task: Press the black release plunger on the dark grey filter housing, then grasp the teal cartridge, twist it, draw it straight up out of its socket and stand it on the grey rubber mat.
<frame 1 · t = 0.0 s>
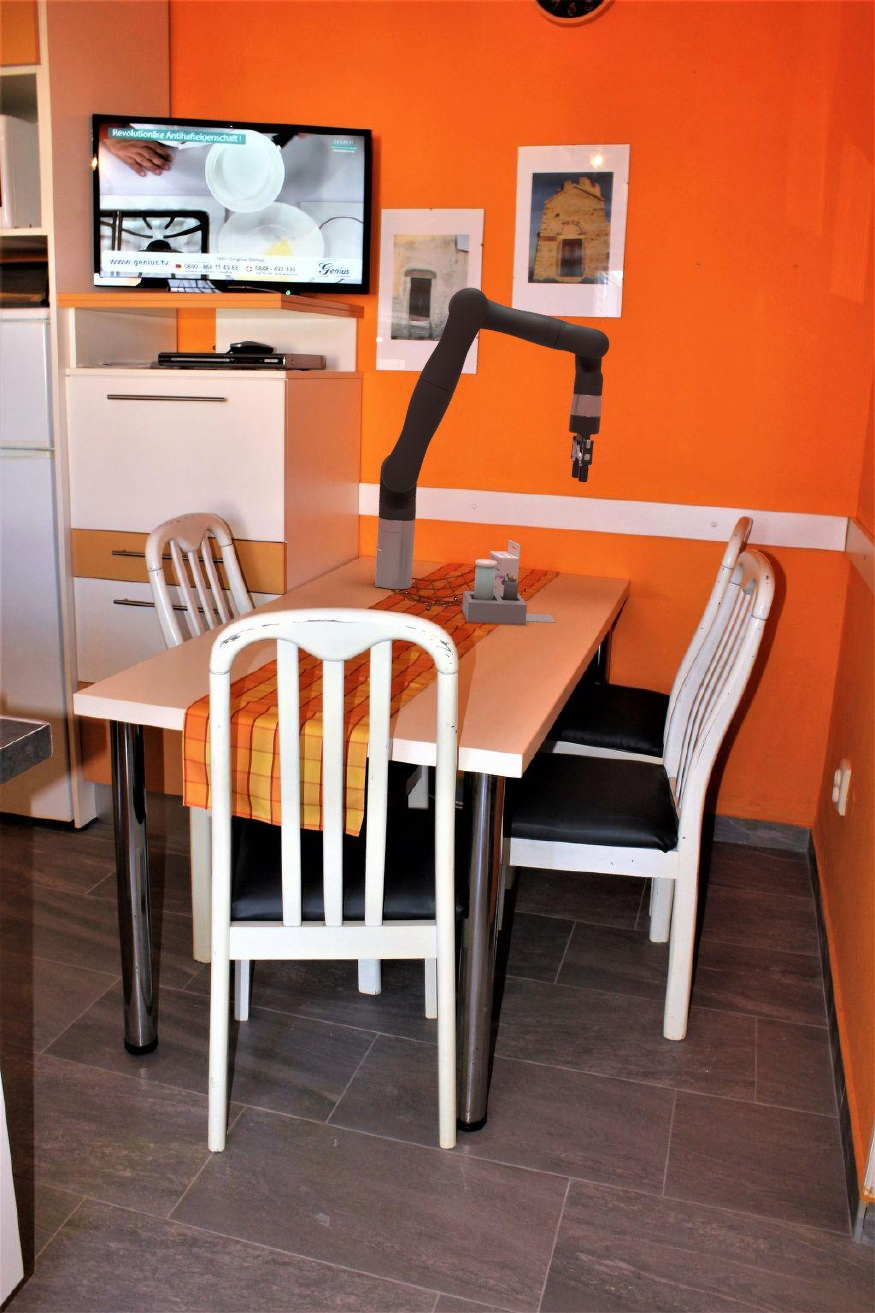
hand: (579, 479, 280), 29 cm above the table, fingers open, 8 cm apart
plunger: (510, 595, 253), point 6 cm above the table, slide at 0.0 cm
ink box: (500, 602, 274), on the table
housing: (493, 619, 254), on the table
mat: (537, 620, 256), on the table
cartridge: (481, 616, 254), resting on housing
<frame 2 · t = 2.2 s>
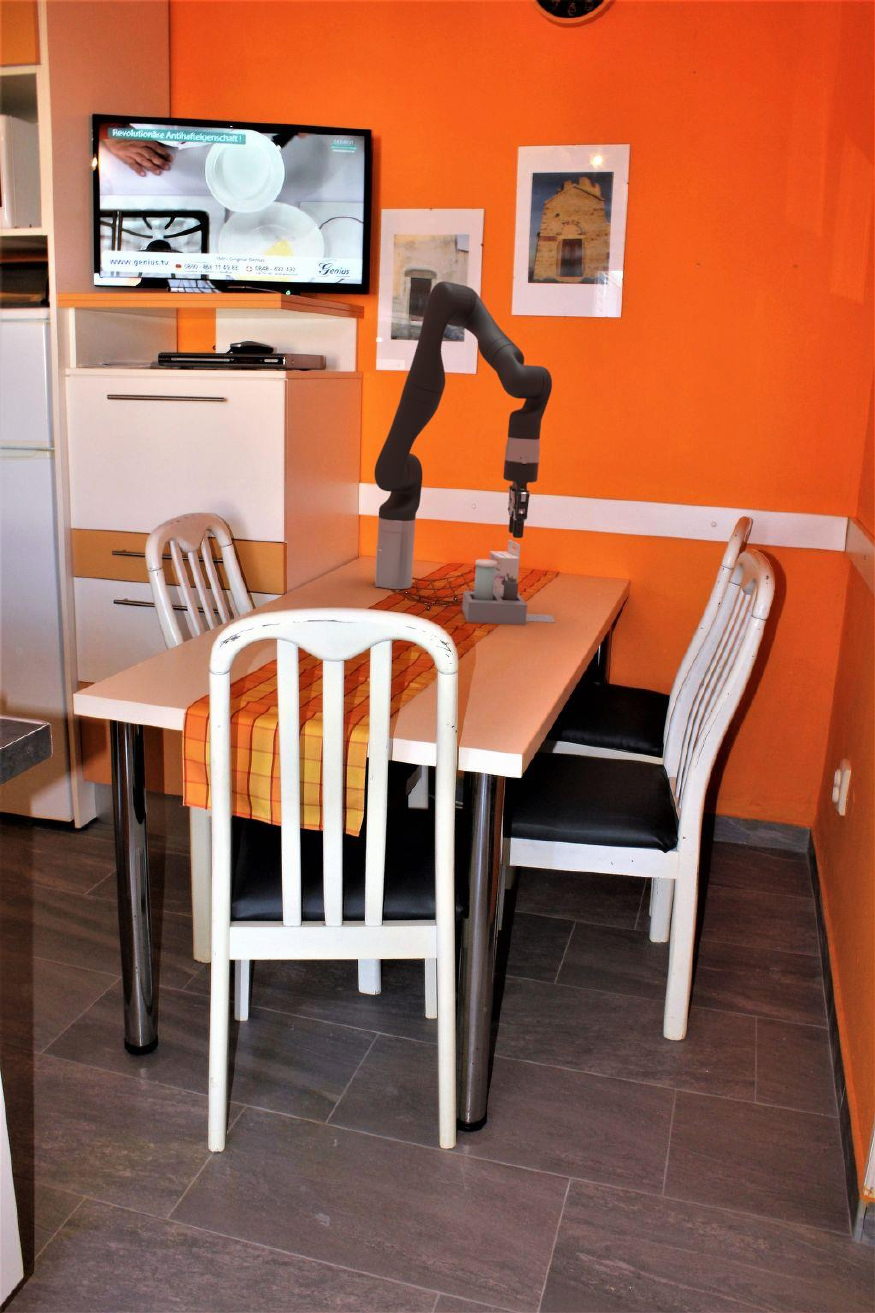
hand: (515, 534, 249), 20 cm above the table, fingers open, 5 cm apart
nothing on the table moved.
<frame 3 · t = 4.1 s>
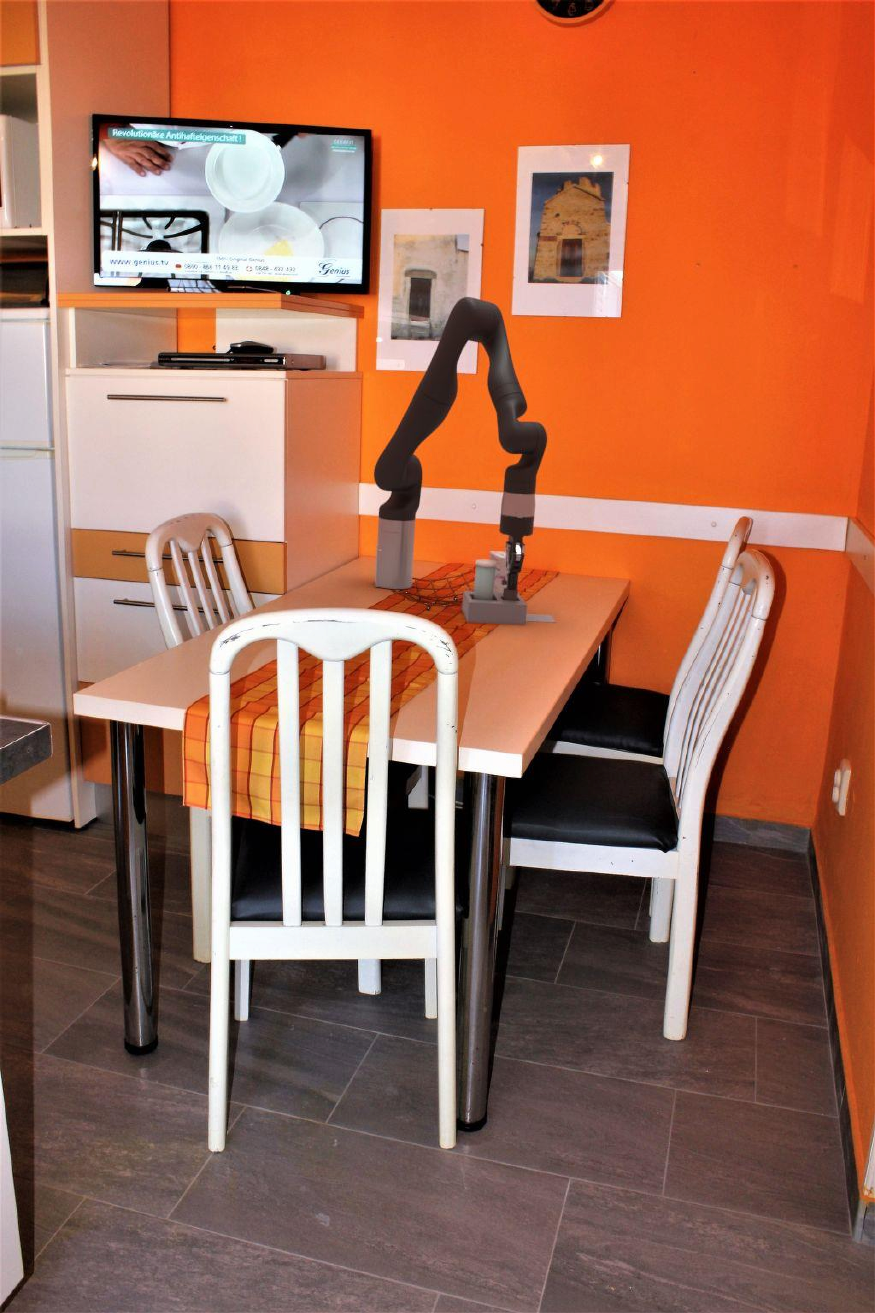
hand: (511, 589, 253), 7 cm above the table, fingers closed
plunger: (509, 601, 253), point 4 cm above the table, slide at 1.4 cm, touching gripper
everything else where it was.
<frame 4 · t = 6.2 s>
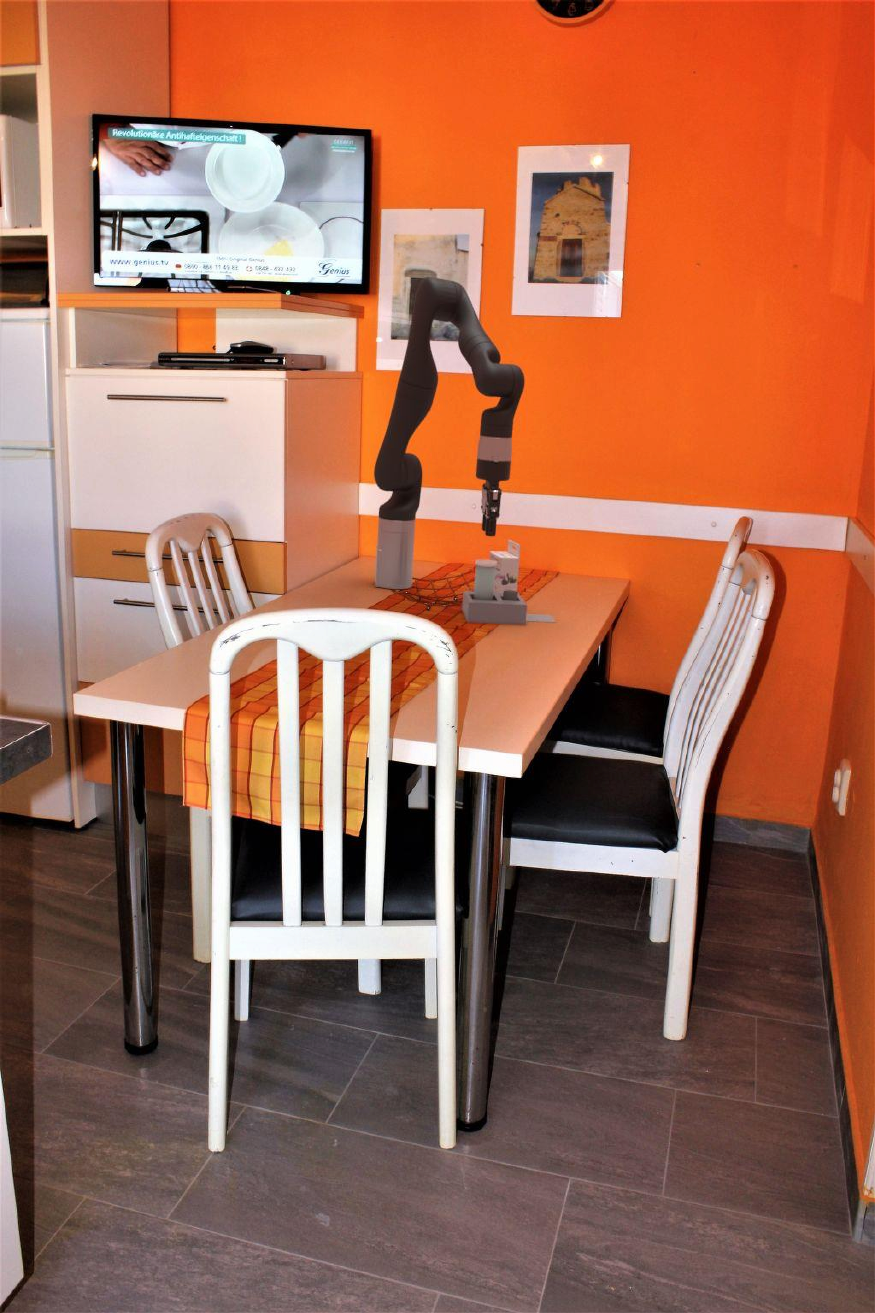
hand: (488, 533, 249), 20 cm above the table, fingers open, 6 cm apart
plunger: (509, 603, 253), point 4 cm above the table, slide at 1.9 cm
everything else where it was.
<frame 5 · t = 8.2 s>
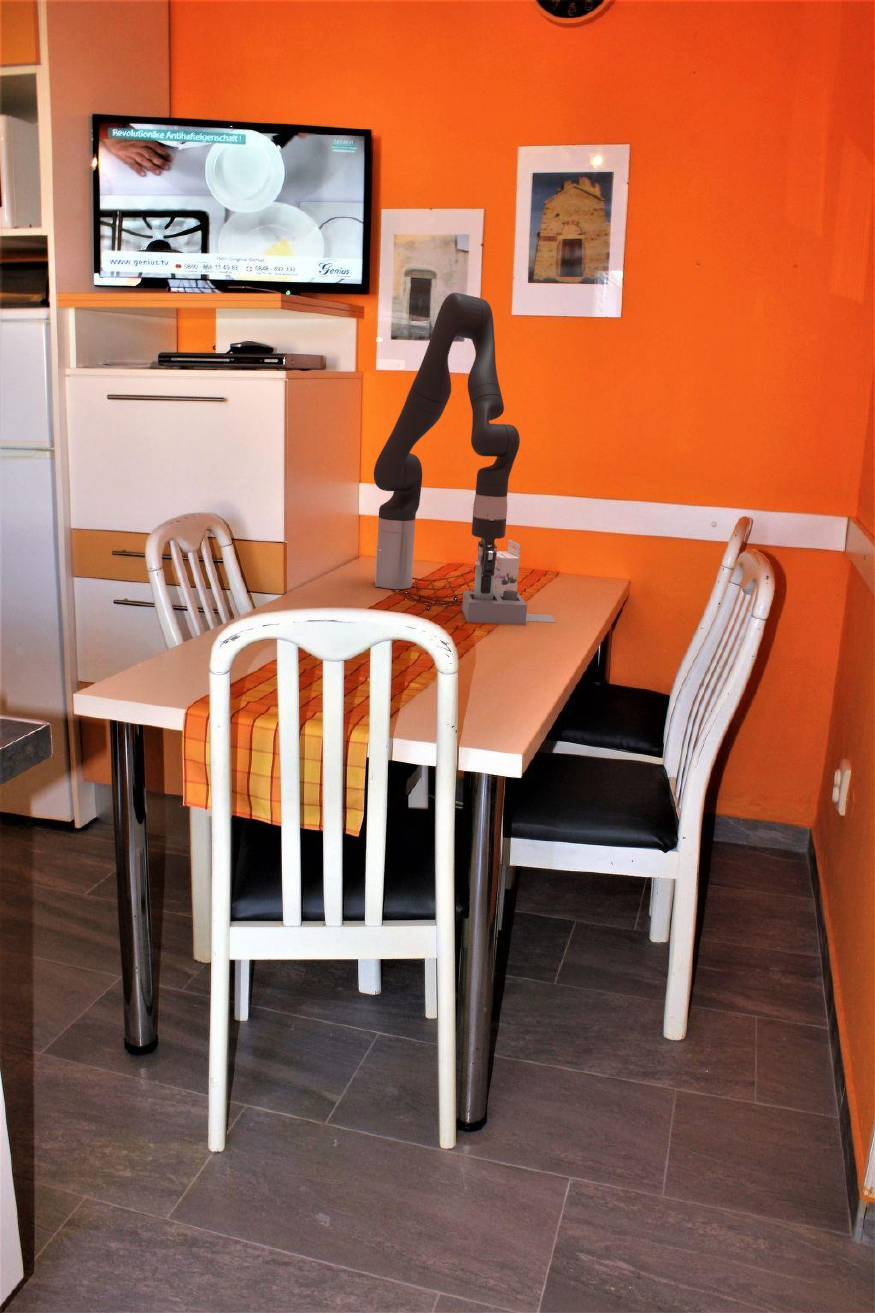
hand: (483, 590, 252), 7 cm above the table, fingers closed on cartridge, 4 cm apart
cartridge: (481, 616, 254), point 1 cm above the table, touching gripper, housing
everything else where it was.
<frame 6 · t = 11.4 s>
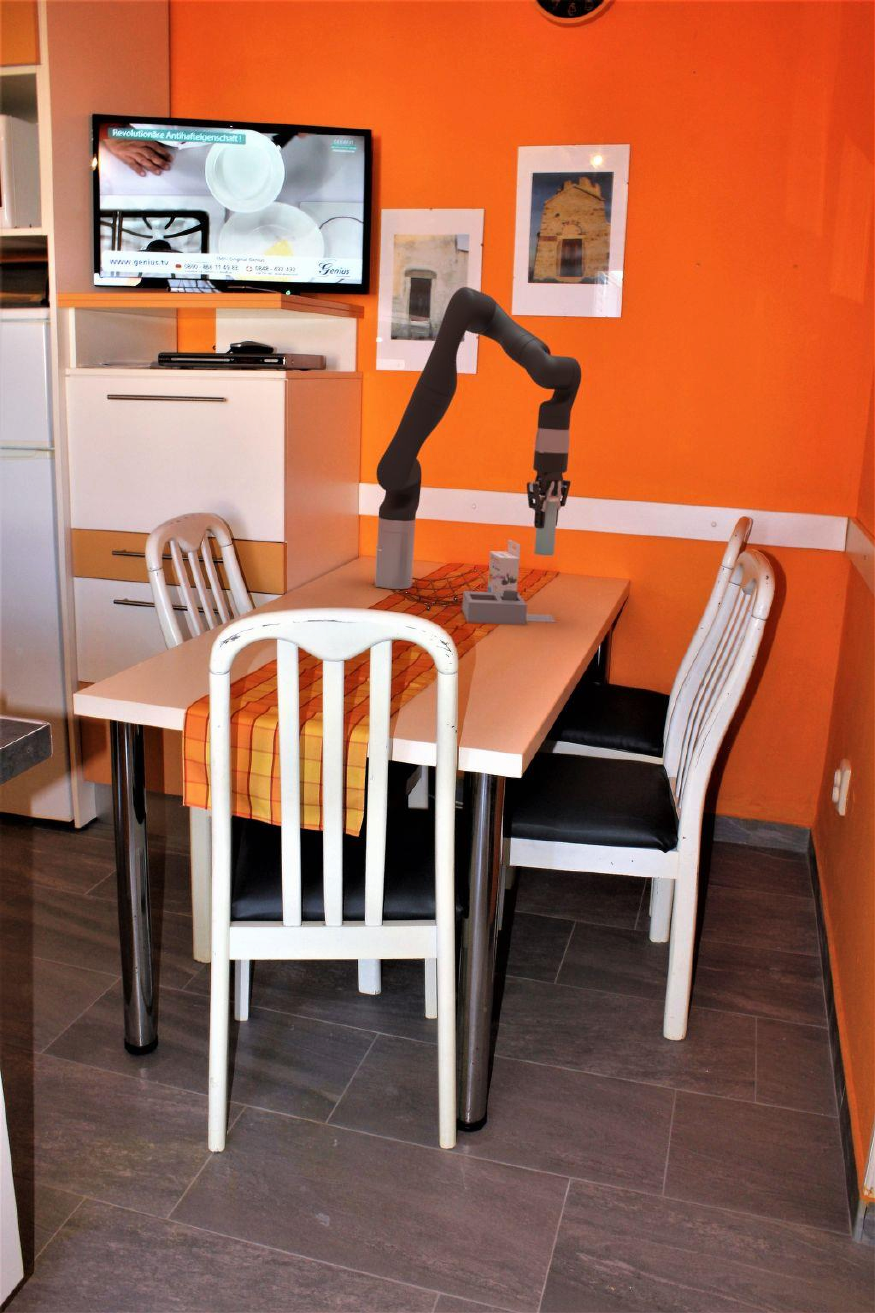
hand: (545, 526, 250), 22 cm above the table, fingers closed on cartridge, 4 cm apart
cartridge: (544, 553, 252), point 16 cm above the table, touching gripper
everything else where it was.
when the fingers open (8 cm above the table, at t = 14.4 s): cartridge stays where it is, resting on mat.
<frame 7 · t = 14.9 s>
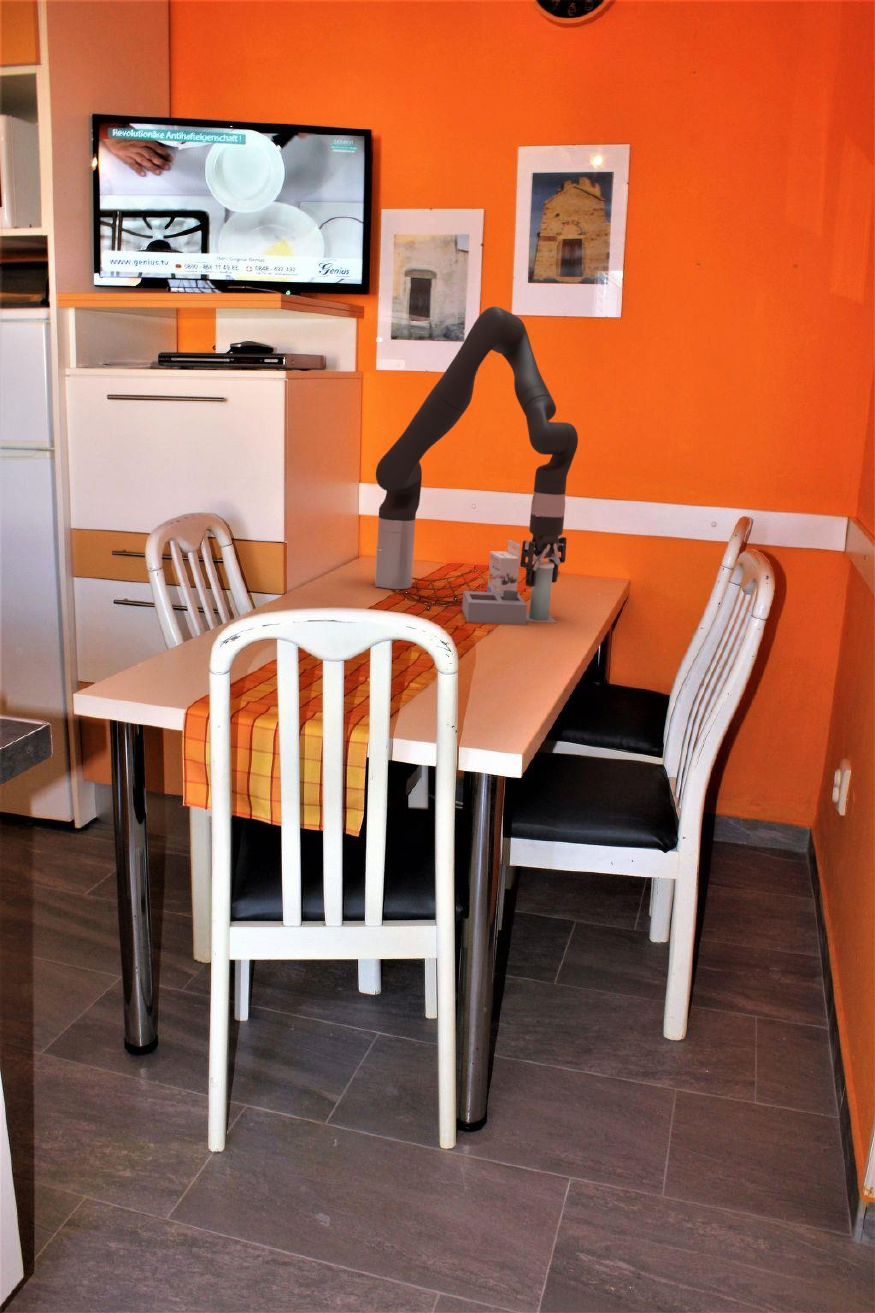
hand: (541, 584, 254), 8 cm above the table, fingers open, 8 cm apart
cartridge: (538, 617, 256), point 1 cm above the table, touching mat
everything else where it was.
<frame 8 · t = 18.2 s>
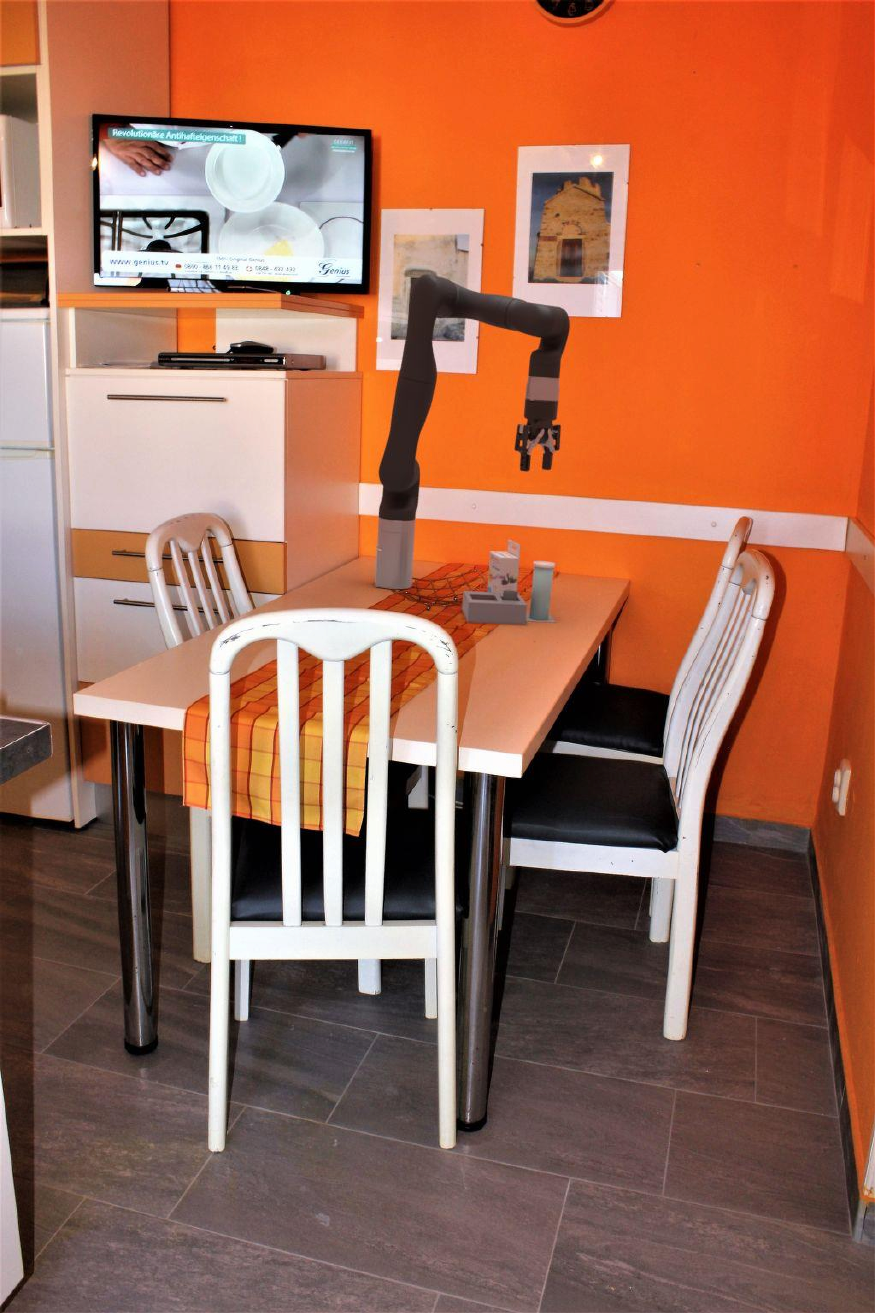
hand: (535, 470, 256), 33 cm above the table, fingers open, 8 cm apart
nothing on the table moved.
at the end: plunger slide at 1.9 cm; cartridge inside the target area on the mat (0.1 cm from its centre), point 0.6 cm above the mat's base; cartridge tilted 1° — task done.
